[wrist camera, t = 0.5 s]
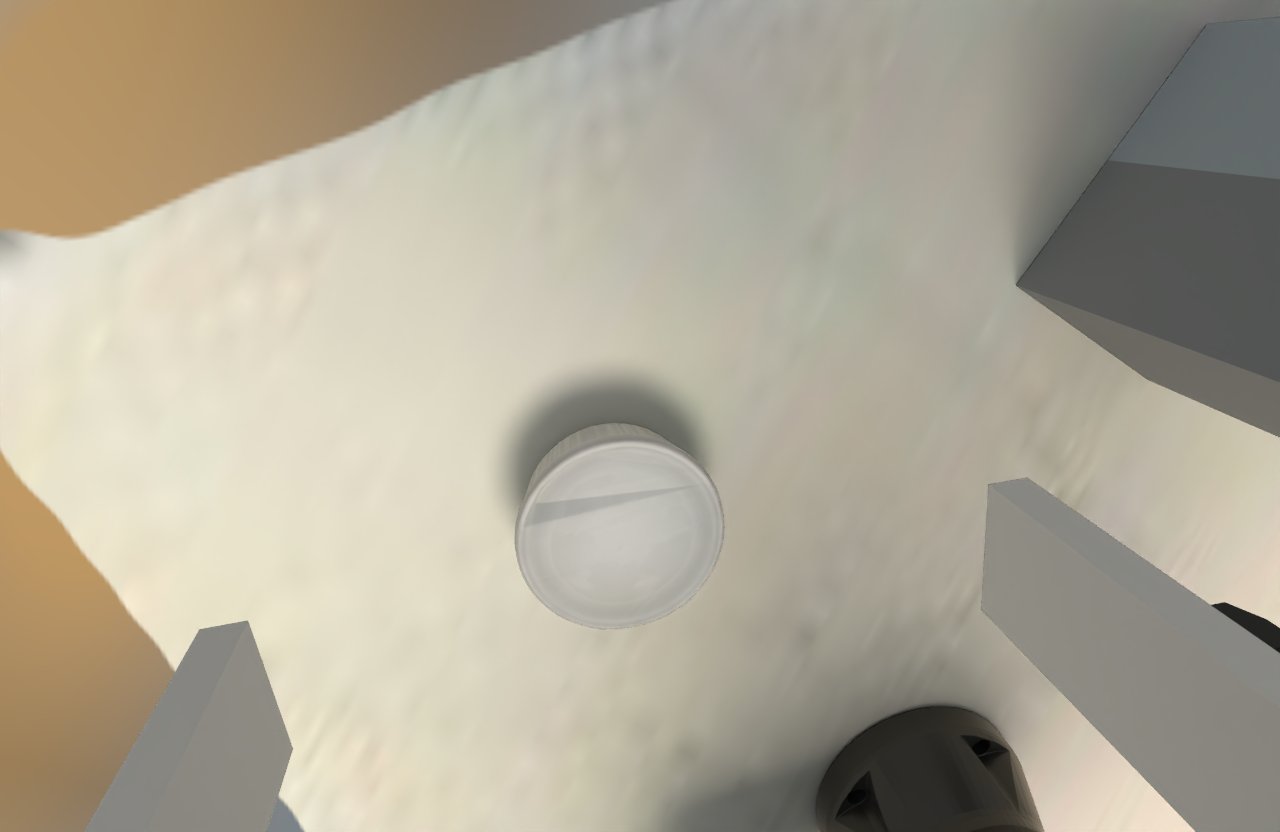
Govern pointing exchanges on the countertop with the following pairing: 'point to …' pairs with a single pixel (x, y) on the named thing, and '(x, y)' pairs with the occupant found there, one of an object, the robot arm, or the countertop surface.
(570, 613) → the ramekin
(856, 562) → the countertop surface
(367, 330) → the countertop surface
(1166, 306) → the stand
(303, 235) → the countertop surface
